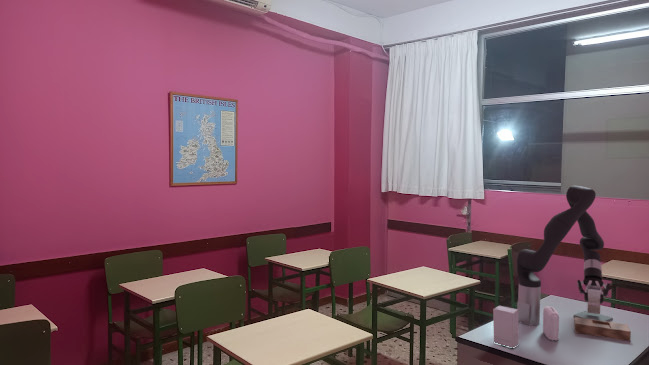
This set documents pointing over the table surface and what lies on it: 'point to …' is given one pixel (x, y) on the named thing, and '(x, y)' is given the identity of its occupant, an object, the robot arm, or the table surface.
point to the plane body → (602, 328)
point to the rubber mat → (593, 316)
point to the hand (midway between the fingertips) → (594, 301)
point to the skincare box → (506, 326)
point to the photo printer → (551, 323)
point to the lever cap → (593, 299)
